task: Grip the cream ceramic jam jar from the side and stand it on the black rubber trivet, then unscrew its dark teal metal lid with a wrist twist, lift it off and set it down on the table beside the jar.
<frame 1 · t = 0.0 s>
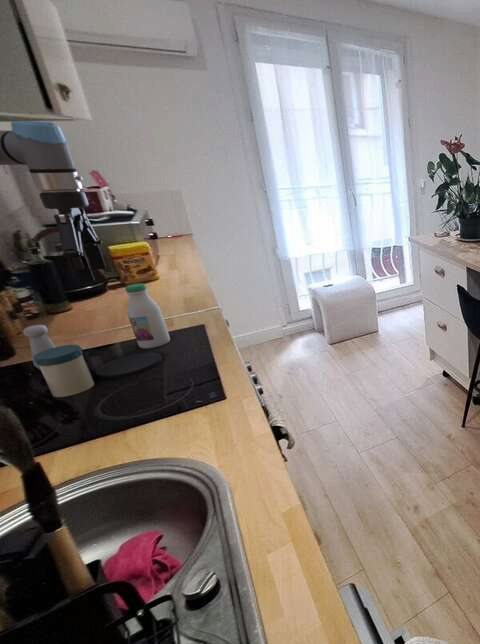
hand: (93, 275, 106), 28 cm above the counter, tool pointing down, fingers open, 13 cm apart
milk bottle: (155, 344, 132), on the counter
jar: (74, 389, 107), on the counter
lid: (57, 353, 103), point 11 cm above the counter, screwed on, not yet turned
trivet: (130, 366, 119), on the counter
salt shaker: (52, 368, 117), on the counter
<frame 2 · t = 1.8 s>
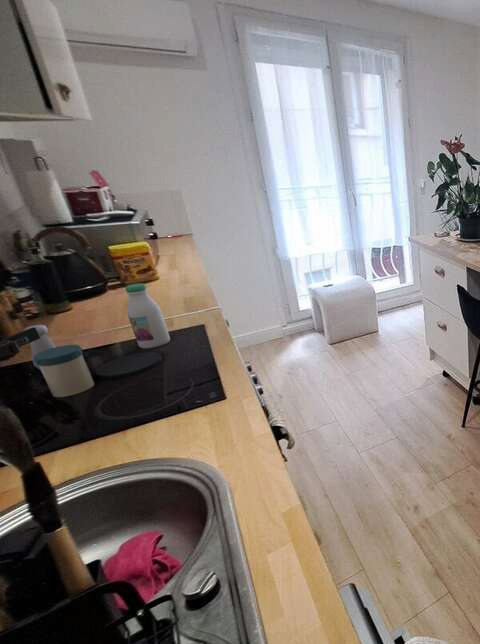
hand: (1, 334, 91), 20 cm above the counter, tool horizontal, fingers open, 13 cm apart
nothing on the counter moved.
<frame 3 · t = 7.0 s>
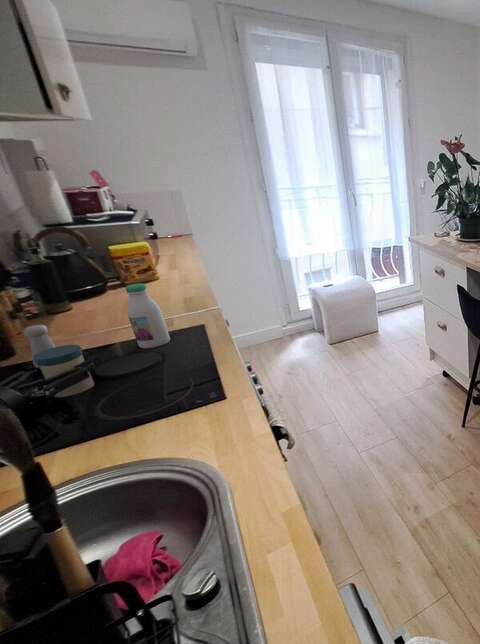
hand: (81, 360, 109), 6 cm above the counter, tool horizontal, fingers closed on jar, 8 cm apart
jar: (74, 389, 107), on the counter, touching gripper
everything else where it was.
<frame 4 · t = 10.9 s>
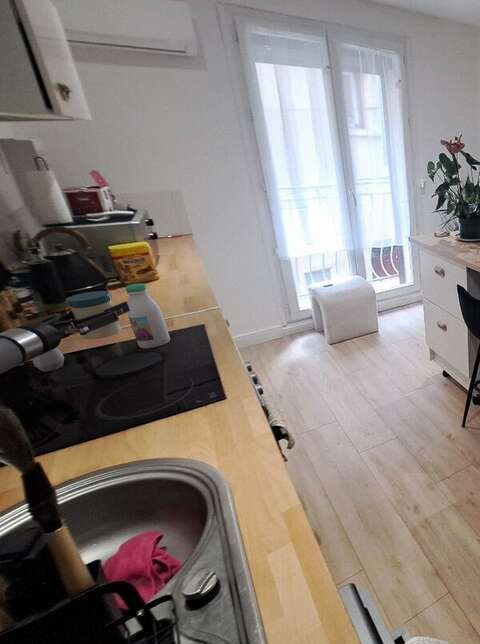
hand: (110, 306, 114), 18 cm above the counter, tool horizontal, fingers closed on jar, 8 cm apart
jar: (103, 333, 111), point 12 cm above the counter, touching gripper
lid: (88, 297, 108), point 22 cm above the counter, screwed on, not yet turned
everything else where it was.
when the fingers open (7 cm above the counter, at t = 14.6 s): jar moves 1 cm, resting on trivet.
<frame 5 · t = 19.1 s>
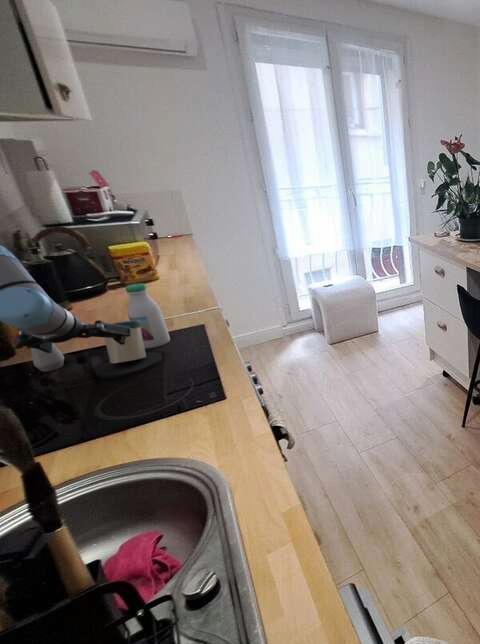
hand: (87, 343, 110), 10 cm above the counter, tool tilted 55°, fingers open, 13 cm apart
jar: (128, 359, 118), point 2 cm above the counter, tilted 16°, touching gripper, trivet
lid: (120, 323, 117), point 12 cm above the counter, tilted 16°, screwed on, not yet turned
everything else where it was.
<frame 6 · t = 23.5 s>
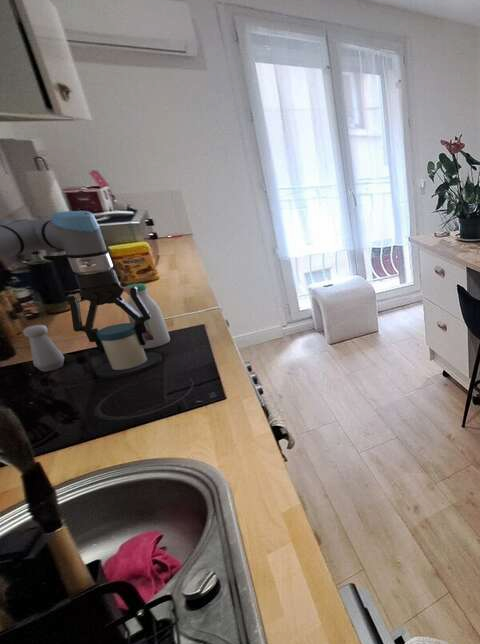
hand: (123, 347, 116), 6 cm above the counter, tool pointing down, fingers closed on lid, 8 cm apart
jar: (129, 363, 118), point 1 cm above the counter, touching trivet
lid: (117, 329, 114), point 12 cm above the counter, screwed on, not yet turned, touching gripper
everything else where it was.
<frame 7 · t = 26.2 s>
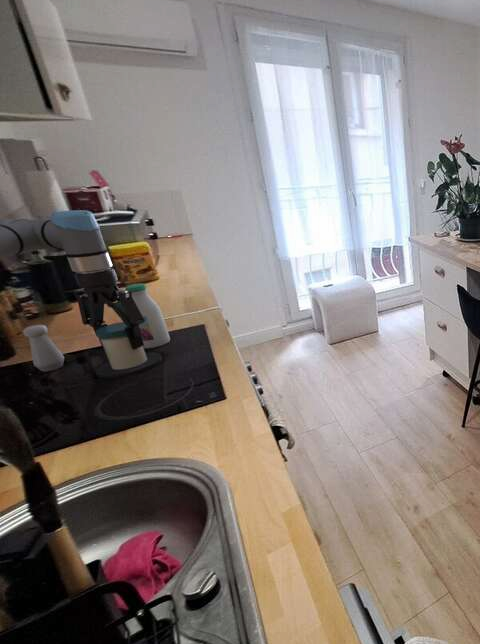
hand: (123, 346, 116), 6 cm above the counter, tool pointing down, fingers closed on lid, 8 cm apart
lid: (116, 328, 114), point 12 cm above the counter, turned 143° so far, risen 0.4 cm, still on its thread, touching gripper
everything else where it was.
when the fingers open (0 cm above the counter, at t = 34.6 s): lid drops 5 cm, point 1 cm above the counter.
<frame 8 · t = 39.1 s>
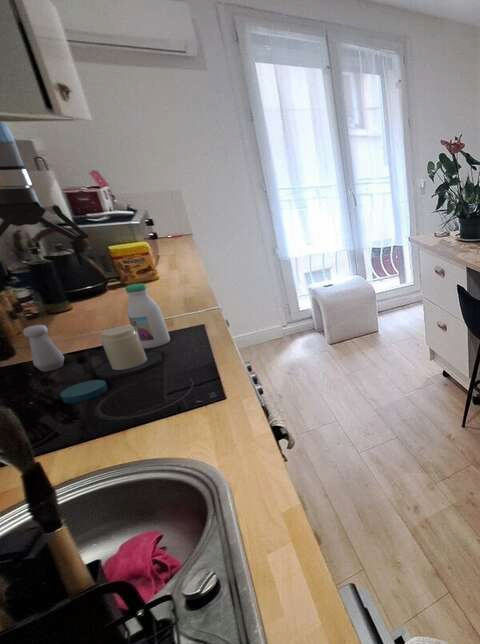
hand: (45, 269, 109), 29 cm above the counter, tool pointing down, fingers open, 13 cm apart
lid: (83, 389, 104), point 1 cm above the counter, off its thread
everything else where it was.
at the end: lid came off its thread; lid point 1.4 cm above the counter; jar inside the target area on the trivet (0.2 cm from its centre), point 1.0 cm above the trivet's base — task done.
